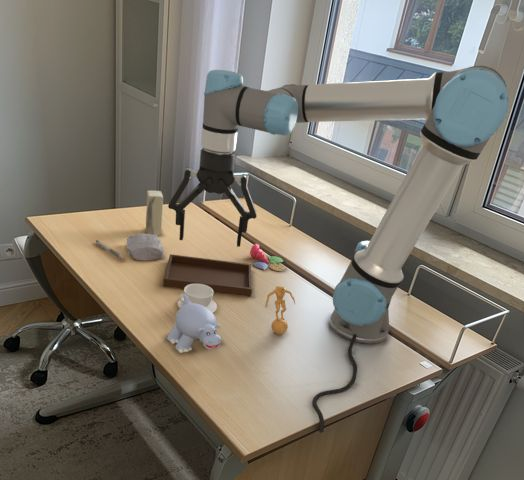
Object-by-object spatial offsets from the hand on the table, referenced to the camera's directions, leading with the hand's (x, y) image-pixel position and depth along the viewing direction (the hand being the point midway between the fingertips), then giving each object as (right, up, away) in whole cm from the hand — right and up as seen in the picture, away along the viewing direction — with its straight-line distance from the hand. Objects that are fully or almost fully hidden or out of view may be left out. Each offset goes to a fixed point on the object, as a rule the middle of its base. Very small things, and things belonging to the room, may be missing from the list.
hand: (210, 241), depth 131 cm
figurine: (+16, -21, +5) cm, 27 cm away
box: (-22, +11, +43) cm, 50 cm away
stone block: (-23, +3, +31) cm, 38 cm away
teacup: (-4, -15, +9) cm, 18 cm away
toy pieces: (+14, +1, +37) cm, 40 cm away
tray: (-3, -6, +23) cm, 24 cm away
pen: (-32, +2, +27) cm, 42 cm away
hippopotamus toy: (-3, -25, -5) cm, 25 cm away
